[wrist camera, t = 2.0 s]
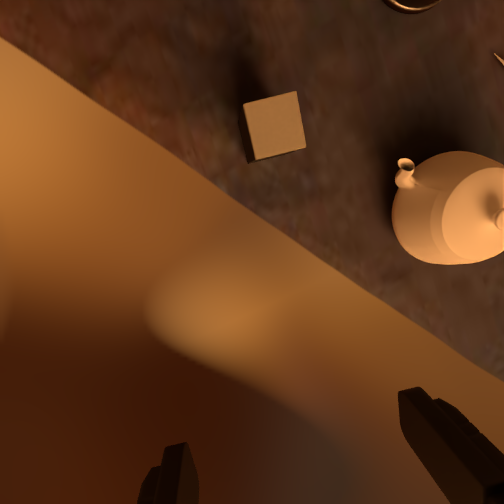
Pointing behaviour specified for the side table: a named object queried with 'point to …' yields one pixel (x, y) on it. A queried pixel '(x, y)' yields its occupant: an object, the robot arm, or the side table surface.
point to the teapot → (450, 208)
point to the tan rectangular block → (271, 127)
